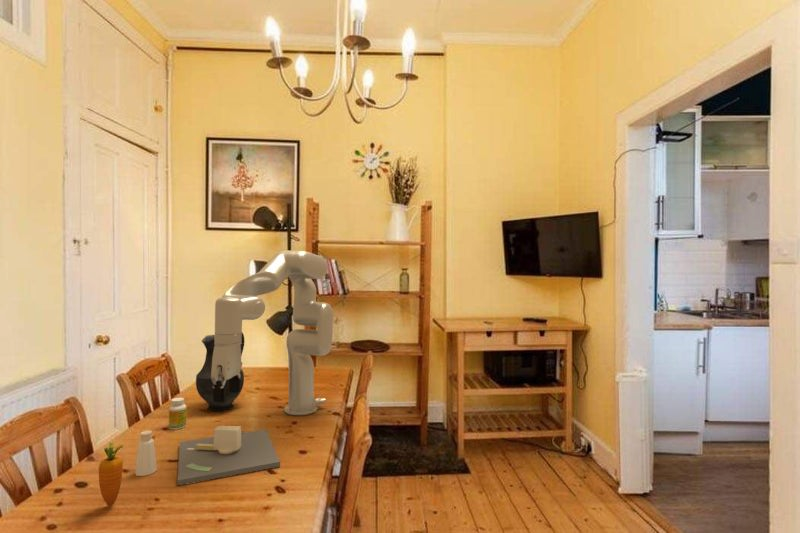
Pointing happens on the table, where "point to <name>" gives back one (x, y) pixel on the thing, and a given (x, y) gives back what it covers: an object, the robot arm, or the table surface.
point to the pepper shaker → (146, 455)
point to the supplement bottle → (177, 414)
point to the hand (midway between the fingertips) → (227, 396)
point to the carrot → (110, 475)
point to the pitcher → (205, 380)
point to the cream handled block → (224, 440)
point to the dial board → (225, 458)
